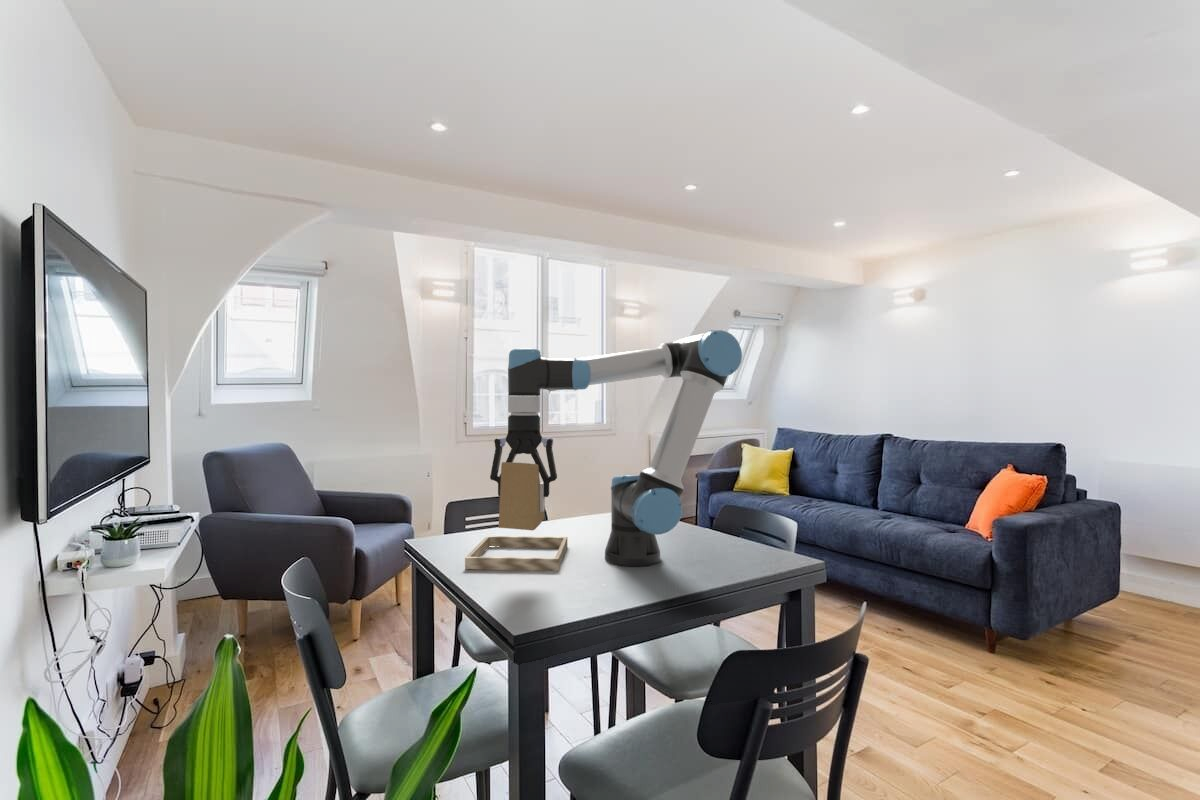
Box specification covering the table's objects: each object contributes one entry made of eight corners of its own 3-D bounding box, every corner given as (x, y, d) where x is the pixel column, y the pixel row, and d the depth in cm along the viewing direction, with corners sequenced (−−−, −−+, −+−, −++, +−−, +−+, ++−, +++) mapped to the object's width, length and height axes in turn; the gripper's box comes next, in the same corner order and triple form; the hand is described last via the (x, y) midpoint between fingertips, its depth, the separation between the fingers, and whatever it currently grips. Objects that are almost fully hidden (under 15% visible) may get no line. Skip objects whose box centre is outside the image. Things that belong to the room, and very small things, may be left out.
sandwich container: (546, 517, 148) (550, 457, 148) (534, 530, 133) (538, 464, 133) (512, 514, 149) (516, 455, 149) (497, 527, 134) (501, 461, 134)
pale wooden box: (567, 547, 174) (567, 537, 174) (558, 570, 150) (558, 559, 150) (486, 546, 175) (486, 536, 175) (465, 569, 151) (465, 557, 151)
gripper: (569, 414, 143) (569, 508, 143) (483, 413, 144) (483, 507, 144) (566, 415, 135) (566, 514, 136) (476, 414, 136) (475, 513, 136)
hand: (523, 510), depth 140 cm, fingers closed on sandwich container, 8 cm apart
